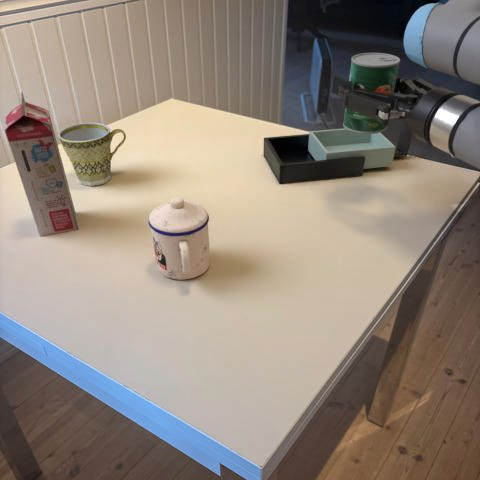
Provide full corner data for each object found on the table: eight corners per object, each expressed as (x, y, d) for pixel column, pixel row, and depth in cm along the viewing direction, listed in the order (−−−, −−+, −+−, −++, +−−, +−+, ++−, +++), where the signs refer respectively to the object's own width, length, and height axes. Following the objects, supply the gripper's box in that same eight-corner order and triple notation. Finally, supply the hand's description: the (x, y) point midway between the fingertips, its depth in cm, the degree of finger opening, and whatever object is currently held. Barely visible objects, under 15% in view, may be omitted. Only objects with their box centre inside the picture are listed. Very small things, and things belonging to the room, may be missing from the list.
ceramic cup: (75, 194, 98) (62, 145, 91) (66, 174, 105) (54, 127, 98) (138, 181, 102) (130, 133, 95) (126, 163, 108) (118, 117, 102)
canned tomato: (351, 135, 84) (360, 66, 77) (337, 119, 90) (345, 53, 83) (394, 132, 85) (408, 63, 78) (378, 116, 91) (389, 51, 84)
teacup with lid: (153, 252, 82) (143, 188, 74) (207, 246, 83) (202, 182, 75) (159, 296, 73) (149, 229, 65) (219, 288, 74) (215, 221, 67)
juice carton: (75, 212, 92) (42, 89, 78) (78, 229, 88) (44, 102, 73) (38, 217, 91) (-2, 93, 76) (39, 236, 86) (-3, 107, 71)
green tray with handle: (396, 142, 113) (410, 73, 104) (419, 163, 105) (437, 91, 95) (307, 149, 111) (313, 80, 101) (324, 172, 102) (332, 99, 92)
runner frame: (338, 148, 113) (341, 131, 111) (362, 176, 102) (365, 157, 100) (263, 155, 111) (263, 137, 108) (279, 184, 100) (280, 165, 97)
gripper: (385, 159, 71) (303, 111, 86) (490, 134, 77) (396, 93, 92) (396, 106, 66) (306, 65, 81) (507, 83, 72) (404, 49, 87)
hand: (354, 80), depth 87 cm, fingers closed on canned tomato, 8 cm apart
